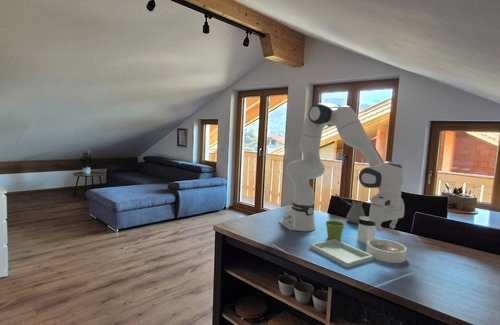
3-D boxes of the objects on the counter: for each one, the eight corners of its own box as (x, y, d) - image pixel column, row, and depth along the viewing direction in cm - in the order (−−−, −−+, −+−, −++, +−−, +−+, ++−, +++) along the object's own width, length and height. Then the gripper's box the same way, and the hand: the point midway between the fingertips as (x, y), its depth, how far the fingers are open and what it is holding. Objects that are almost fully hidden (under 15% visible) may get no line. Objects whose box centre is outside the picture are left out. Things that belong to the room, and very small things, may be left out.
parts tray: (309, 249, 135) (310, 244, 135) (334, 243, 144) (334, 238, 143) (347, 269, 117) (347, 263, 116) (373, 261, 125) (373, 255, 124)
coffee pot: (369, 222, 181) (370, 198, 179) (361, 226, 173) (362, 201, 171) (337, 214, 196) (338, 192, 194) (328, 218, 188) (330, 195, 186)
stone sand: (384, 256, 128) (385, 248, 128) (391, 254, 131) (391, 246, 130) (394, 260, 125) (394, 252, 124) (400, 258, 127) (401, 250, 127)
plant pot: (321, 239, 149) (321, 222, 148) (330, 235, 156) (331, 219, 155) (337, 244, 142) (338, 227, 141) (346, 240, 149) (347, 223, 148)
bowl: (358, 252, 133) (359, 242, 133) (380, 246, 142) (381, 236, 141) (391, 267, 120) (392, 255, 119) (413, 259, 128) (414, 248, 127)
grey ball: (371, 250, 134) (372, 243, 134) (377, 249, 136) (378, 241, 136) (380, 254, 130) (381, 246, 130) (386, 252, 133) (387, 244, 132)
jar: (356, 237, 153) (358, 215, 152) (373, 239, 151) (375, 217, 150) (357, 243, 145) (359, 220, 144) (375, 245, 142) (376, 222, 141)
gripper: (396, 195, 135) (393, 224, 137) (367, 199, 125) (364, 230, 126) (409, 198, 130) (406, 228, 131) (381, 202, 119) (377, 235, 121)
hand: (385, 229), depth 129 cm, fingers open, 8 cm apart
